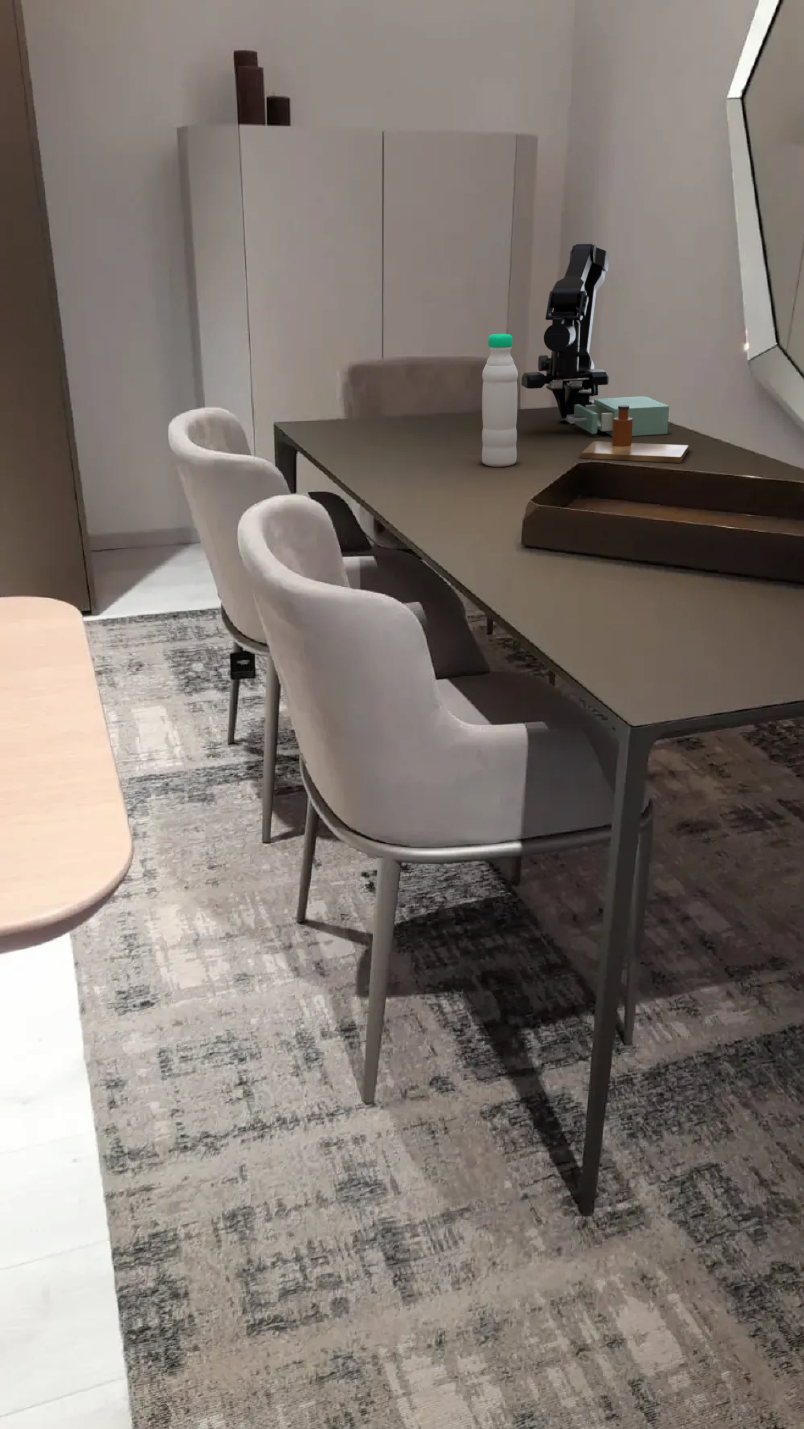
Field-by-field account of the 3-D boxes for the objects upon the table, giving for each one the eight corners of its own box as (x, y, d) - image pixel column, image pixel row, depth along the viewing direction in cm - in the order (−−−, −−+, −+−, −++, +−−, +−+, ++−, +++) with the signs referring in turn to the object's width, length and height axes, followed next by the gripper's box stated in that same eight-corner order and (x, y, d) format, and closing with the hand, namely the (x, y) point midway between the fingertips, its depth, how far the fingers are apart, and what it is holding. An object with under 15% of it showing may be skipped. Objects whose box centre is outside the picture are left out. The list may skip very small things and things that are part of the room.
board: (581, 458, 227) (581, 452, 226) (593, 446, 237) (593, 441, 236) (680, 463, 220) (680, 457, 220) (688, 451, 230) (688, 445, 230)
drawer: (573, 434, 245) (574, 415, 243) (556, 424, 257) (556, 405, 255) (641, 430, 247) (642, 411, 245) (620, 420, 259) (621, 401, 257)
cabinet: (613, 437, 246) (615, 409, 243) (592, 425, 259) (594, 399, 256) (667, 433, 248) (669, 406, 245) (644, 422, 261) (645, 396, 258)
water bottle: (514, 467, 220) (516, 336, 210) (479, 467, 222) (479, 336, 211) (518, 460, 226) (520, 332, 216) (484, 459, 228) (484, 332, 217)
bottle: (610, 446, 231) (612, 407, 228) (613, 442, 234) (616, 404, 231) (629, 447, 230) (631, 407, 226) (632, 443, 233) (635, 404, 230)
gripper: (595, 340, 252) (592, 410, 258) (516, 344, 249) (514, 414, 256) (611, 346, 242) (607, 418, 248) (528, 349, 239) (527, 422, 246)
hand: (563, 418), depth 250 cm, fingers closed
